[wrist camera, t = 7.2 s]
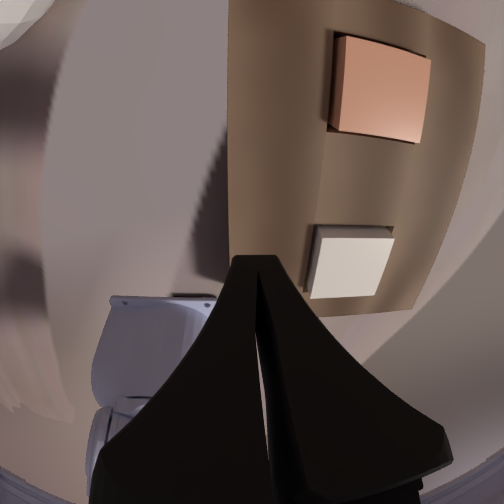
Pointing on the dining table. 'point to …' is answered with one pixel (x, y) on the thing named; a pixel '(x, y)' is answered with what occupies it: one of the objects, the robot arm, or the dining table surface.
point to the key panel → (343, 141)
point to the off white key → (347, 260)
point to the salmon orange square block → (377, 89)
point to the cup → (19, 18)
